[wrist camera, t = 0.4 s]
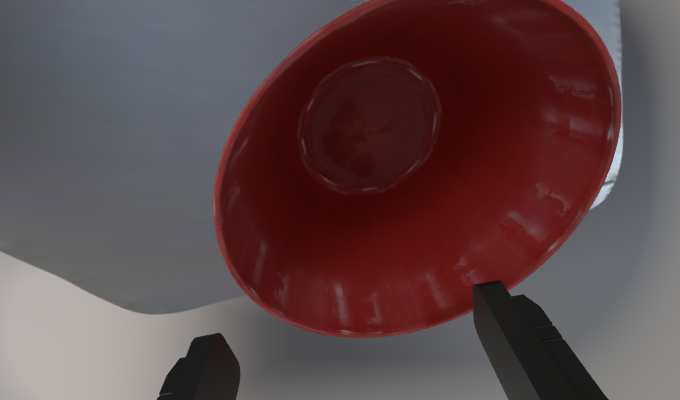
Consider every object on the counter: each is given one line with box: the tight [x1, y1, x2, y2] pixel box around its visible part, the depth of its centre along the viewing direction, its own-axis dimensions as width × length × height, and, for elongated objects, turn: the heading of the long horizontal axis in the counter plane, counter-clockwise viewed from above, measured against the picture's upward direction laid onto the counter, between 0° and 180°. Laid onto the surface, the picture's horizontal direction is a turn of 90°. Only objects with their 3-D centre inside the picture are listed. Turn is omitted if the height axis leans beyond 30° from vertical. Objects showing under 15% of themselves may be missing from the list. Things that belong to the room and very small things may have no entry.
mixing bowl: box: [213, 0, 621, 338], centre depth 30 cm, size 28×28×16 cm
